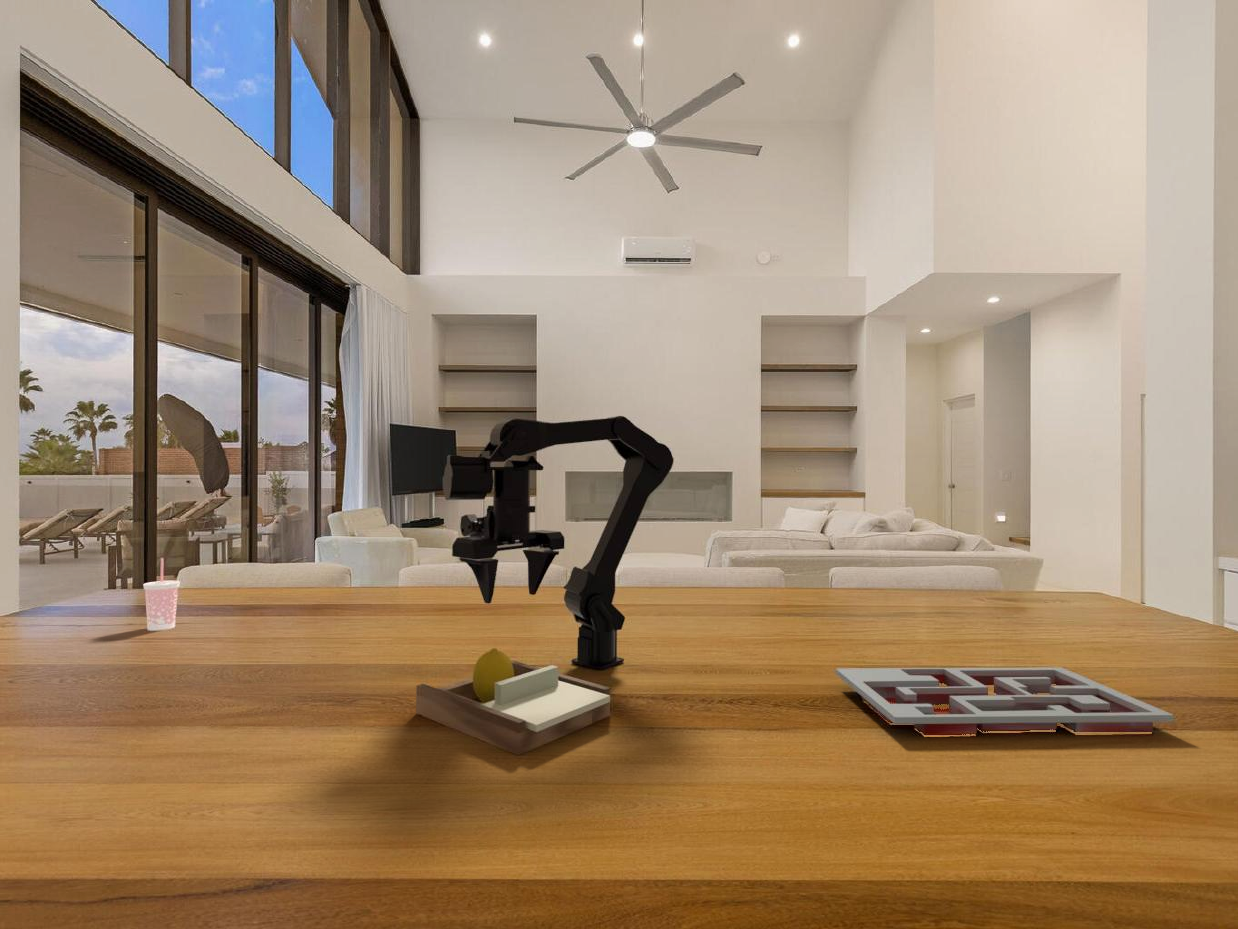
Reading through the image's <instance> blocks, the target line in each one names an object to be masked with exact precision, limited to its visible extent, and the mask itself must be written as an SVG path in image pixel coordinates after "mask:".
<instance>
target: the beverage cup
mask: <svg viewBox="0 0 1238 929" xmlns="http://www.w3.org/2000/svg"><path fill="white" fill-rule="evenodd" d="M164 561H165V560H164V557H160V580H157V581H150V582H145V583H143V585H142V586H143V590H144V593H145V594H144V596H145V607H146V608H145V610H146V611H145V612H146V624H147V627H146V628H147V631H152V632H154V631H165V630H170V629H173V628H175V627H176V616H177V606H178V605H177V604H178V593H179V587H180V586H181V585H180V584H181V581H180V580H164V566H165V565H164Z"/></svg>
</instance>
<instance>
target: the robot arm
mask: <svg viewBox="0 0 1238 929" xmlns="http://www.w3.org/2000/svg"><path fill="white" fill-rule="evenodd" d="M489 435H490V436H489V441H488V443H486V446H485V447H484V448H483V449H482V451H481V452H479V455H477V456H464V455H458V454H457V455H456V454H452V455H451V454H450V455H449V454H448V455H447V456H446V465H445V468H444V473H443V474H444V475H443V476H442V491H443V496H444V499H445V501H467V500H468V501H474V500H475V501H477V500H478V501H481V500H482V501H483V500H485V499H486V497H487V495H488V494H491V493H492V491H493V497H492V500H493V501H492V505H487V508H486V515H484V516H482V517H480V516H479V517H477V515H476V514H474V513H473V514H471V513H470V514H464V515H463V516H461V517H460V526H459V527H460V532H461V535H462V536H461V537H457V538H455V540H454V542H453V543H452V545H451V547H452V548H451V552H452V554H451V555H452V556H451V557H456V558H459V561H460V562H461V563H466V565H468V567H469V568H470V569H471V571H472V572H473V575H474V577H475V580H476V582H477V584H478V588H479V590H480V593H481V597H482V599H483V602H484V603H485V604H488V605H489V604H491V603H492V601H493V597H494V593H495V592H494V591H495V583H496V578H497V571H498V565H499V559H497V558H494V557H495V556H496V554H497V553H498V552H501V551H502V552H503V551H510V550H518V549H519V550H521V549H523V550H522V552H523V554H524V556H525V558H526V560H527V577H528V578H527V583H528V585H527V586H528V593H529V595H530V596H535V595H536V594H537V592H538V590H539V588H540V585H541V584H542V581H543V579H544V577H545V575H546V573H547V572H548V569H549V568H550V566H551V564H552V563H553V561H554V559H555V557H556V556H558V555H560V551H559V550H565V536H564V535H563V533H562V532H561V531H558V530H557V531H556V530H545V529H538V530H530V529H531V528H530V527H531V514H532V513H536V505H531V471H543V470H544V466H543V465H542V464H541V463H540V462H539V461H537V459H536V457H535V456H534V455H528V454H532V453H535V452H539V451H541V450H544V449H547V448H549V447H554V446H559V445H568V444H578V443H589V442H596V441H597V442H598V441H608V442H609V443H610V444H611V445H612V447H613V448H614V450H615V452H616V453H617V454H618V455H619V456H620V457H621V458H622V460H624V461H625V462H624V467H623V470H622V471H623V472H622V475H623V476H622V478H623V479H622V480H623V481H622V483H623V484H622V488H621V490H620V493H619V495H618V497H617V499H616V502H615V503H614V506H613V508H612V510H611V512H610V515H609V517H608V519H607V522H606V524H605V525H604V528H603V530H602V533H601V535H600V538H599V539H598V542H597V544H596V546H595V549H594V551H593V553H592V556H591V557H590V560H589V561H588V562H587V563H586V565H584V566H583V568H580V567H578V566H573V568H572V570H571V573H570V575H569V576H570V577H569V579H568V582H567V583H565V585H564V586H563V587H562V588H563V589H564V590H565V592H564V595H563V596H564V597H563V601H564V604H565V607H566V608H567V610H568V611H569V612H570V613H572V615H573V617H574V618H573V619H574V620H575V622H576V623H579V624H581V625H580V626H578V637H577V645H576V646H577V651H576V652H577V656H576V657H575V658H571V663H572V664H577V665H580V666H583V667H588V668H591V669H595V670H604V669H607V668H609V667H612V666H615V665H618V664H621V663H623V662H624V661H625V659H624V658H623V657H619V656H618V650H617V649H618V631H621V630H622V629H623V626H624V623H625V619H626V617H625V616H624V615H623V613H622V612H621V611H620V610H619V609H617V607H615V606H614V605H613V601H614V597H615V594H616V573H617V570H618V568H619V565H620V562H621V561H622V558H623V556H624V554H625V551H626V549H627V547H628V544H629V542H630V540H631V537H632V535H633V533H634V531H635V528H636V526H637V524H638V522H639V519H640V517H641V515H642V512H643V510H644V508H645V506H646V503H647V501H648V499H649V497H650V496H651V495H652V494H653V493H654V491H655V490H657V488H659V487H660V485H662V484H663V482H664V481H665V479H666V477H667V476H668V475H669V473H670V472H671V470H672V468H673V466H674V457H673V455H672V451H671V449H670V448H669V447H668V446H667V445H666V444H665V443H661V442H659V441H658V440H656V439H655V437H653V436H652V435H650V434H648V433H647V432H646V431H644V430H643V429H640V428H639V427H637V425H635V424H634V423H633V422H632V421H631V420H630V419H629V418H627V417H625V416H623V415H618V416H617V415H616V416H611V417H610V416H609V417H607V418H597V419H586V420H585V419H584V420H583V419H582V420H574V421H573V420H572V421H562V422H560V421H559V422H548V421H547V422H546V421H540V420H533V419H527V418H526V419H524V418H523V419H522V418H513V419H508V420H503V421H499V422H498V423H496V424H495V425H494V426H493V428H492V429H491V431H490V434H489ZM525 455H527V456H526V458H525V459H523V460H522V459H511V458H512V457H521V456H525ZM503 462H505V463H504V466H491V463H503Z"/></svg>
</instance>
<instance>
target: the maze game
mask: <svg viewBox="0 0 1238 929" xmlns="http://www.w3.org/2000/svg"><path fill="white" fill-rule="evenodd" d="M834 670H835V671H834V672H835V675H836V676H837V677H839V678H840V679H841V680H842V681H843V682H844V683H846V684H847V685H848V686H849V687H850V688H852V690H854V691H855V692H856V693H858V694H859V695H860V697H861V698H862V700H863V701H865V702H867V703H868V705H869V706H871V707H872V708H873V710H875V711H876V712H878V713H879V714H880V715H881V716H882V717H883V718H884V719H885V720H887V721H888V722H890V723H894V724H914V726H913V728H914V727H915V728H916V729H917V730H918V731H919V732H922V733H923V734H924V735H962V734H963V735H964V734H965V735H966V734H970V735H971V734H977V733H978V731H977V728H978V729H979V730H981V731H982V732H983V731H984V732H986V731H987V732H988V731H1030V730H1050V729H1051V730H1052V729H1053V730H1056V729H1057V730H1058V727H1057V723H1061V724H1063V725H1064V726H1065V727H1067V728H1069V729H1071V730H1073V731H1074V732H1153V730H1154V723H1160V722H1161V723H1164V722H1165V723H1167V722H1168V723H1169V722H1173V723H1174V721H1175V717H1174V716H1175V715H1174V714H1172V713H1170V712H1168V711H1165V710H1163V709H1161V708H1158V707H1156V706H1153V705H1152V704H1149V703H1147V702H1144V701H1142V700H1140V699H1137V698H1135V697H1133V696H1130V695H1128V694H1125V693H1123V692H1120V691H1118V690H1116V689H1113V688H1111V687H1109V686H1107V685H1104V684H1101V683H1099V682H1097V681H1094V680H1092V679H1090V678H1088V677H1085V676H1083V675H1080V674H1078V673H1076V672H1073V671H1071V670H1069V669H1066V668H1065V667H1062V666H1060V667H1059V666H1058V667H1056V666H1053V667H1052V666H1051V667H1050V666H1049V667H1044V666H1043V667H1040V666H1039V667H1037V666H1036V667H893V668H892V667H885V668H884V667H883V668H882V667H879V668H878V667H875V668H873V667H871V668H867V667H862V668H860V667H859V668H858V667H857V668H855V667H854V668H851V667H850V668H845V667H843V668H842V667H841V668H837V667H836V668H835V669H834ZM939 683H941V684H942V683H944V684H946V685H947V686H948V687H939ZM1051 684H1056V685H1058V686H1051ZM985 685H994V693H996V694H997V695H988V687H987V686H985ZM1034 693H1035V694H1037V693H1050V695H1032V694H1034ZM889 702H890V703H889ZM891 702H892V703H891ZM893 702H894V703H893ZM934 704H935V705H939V704H940V705H941V704H947V705H948V704H949V709H948V708H947V709H944V710H943V709H942V710H941V709H940V708H939V709H938V708H937V709H935V708H934V706H932V705H934ZM1110 711H1111V712H1115V713H1110ZM934 712H949V714H943V713H942V714H941V713H940V714H939V713H938V714H937V713H935V714H936V715H935V714H934ZM1153 733H1154V732H1153Z"/></svg>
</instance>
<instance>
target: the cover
mask: <svg viewBox="0 0 1238 929" xmlns="http://www.w3.org/2000/svg"><path fill="white" fill-rule="evenodd" d="M540 668H541V669H538V670H535V671H532V672H528V673H525V674H522V675H519V676H516V677H512V678H509V679H506V680H503V681H500V682H497V683H495V700H493V701H490V702H487V703H485V702H483V703H482V704H481V705H484V706H487V707H490V708H492V709H495V710H498V711H501V712H503V713H506V714H509V715H512V716H515V717H517V718H520V719H523V720H526V728H527V729H530V730H532V731H535V732H538V731H540V730H543V729H545V728H548V727H550V726H553V725H555V724H557V723H560V722H562V721H565V720H567V719H570V718H572V717H574V716H577V715H579V714H582V713H584V712H587V711H589V710H591V709H594V708H596V707H599V706H601V705H604V704H606V703H608V702H610V703H611V694H610V695H607V694H603V693H600V692H596V691H593V690H589V689H586V688H583V687H579V686H576V685H572V684H569V683H565V682H562V681H558V673H559V666H557V665H553V664H551V665H547V666H545V667H540Z"/></svg>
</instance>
